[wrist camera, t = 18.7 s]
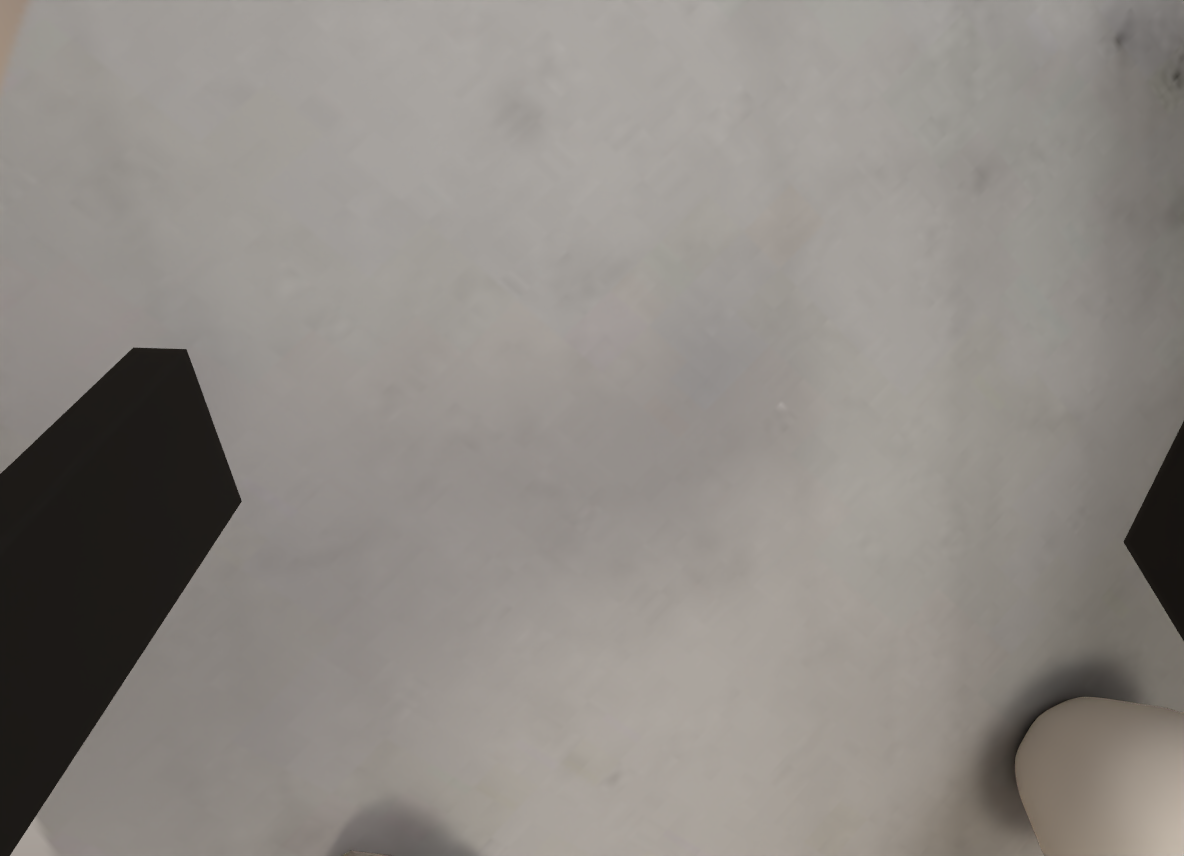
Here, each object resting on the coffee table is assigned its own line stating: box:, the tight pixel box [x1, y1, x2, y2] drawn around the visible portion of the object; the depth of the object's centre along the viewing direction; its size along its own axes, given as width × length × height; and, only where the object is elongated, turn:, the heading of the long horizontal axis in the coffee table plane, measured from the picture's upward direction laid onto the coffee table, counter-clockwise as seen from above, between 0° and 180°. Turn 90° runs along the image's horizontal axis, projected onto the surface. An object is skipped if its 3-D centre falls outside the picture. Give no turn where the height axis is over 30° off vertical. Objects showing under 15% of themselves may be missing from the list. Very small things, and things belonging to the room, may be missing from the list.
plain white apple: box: [1015, 697, 1184, 856], centre depth 26 cm, size 7×7×8 cm
